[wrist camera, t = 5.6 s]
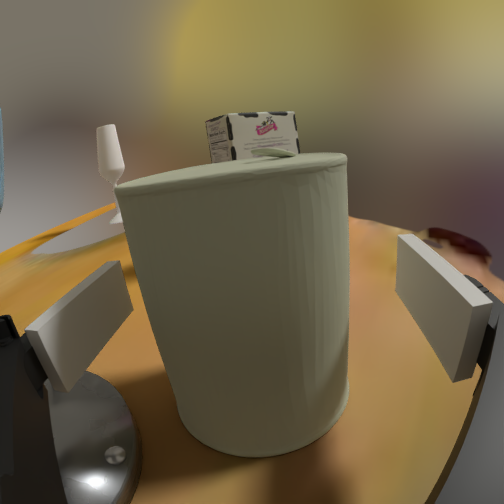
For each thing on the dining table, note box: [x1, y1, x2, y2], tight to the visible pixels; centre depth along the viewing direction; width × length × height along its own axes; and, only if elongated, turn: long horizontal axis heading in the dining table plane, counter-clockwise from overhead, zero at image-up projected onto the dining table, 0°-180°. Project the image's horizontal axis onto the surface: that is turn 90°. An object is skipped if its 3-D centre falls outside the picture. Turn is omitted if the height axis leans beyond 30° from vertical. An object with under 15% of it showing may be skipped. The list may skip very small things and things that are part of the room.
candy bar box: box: [205, 112, 300, 164], centre depth 39 cm, size 11×5×16 cm, turn 131°
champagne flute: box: [97, 124, 125, 224], centre depth 70 cm, size 7×7×24 cm
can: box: [114, 148, 350, 457], centre depth 14 cm, size 9×9×12 cm
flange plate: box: [44, 371, 142, 504], centre depth 10 cm, size 14×14×1 cm
